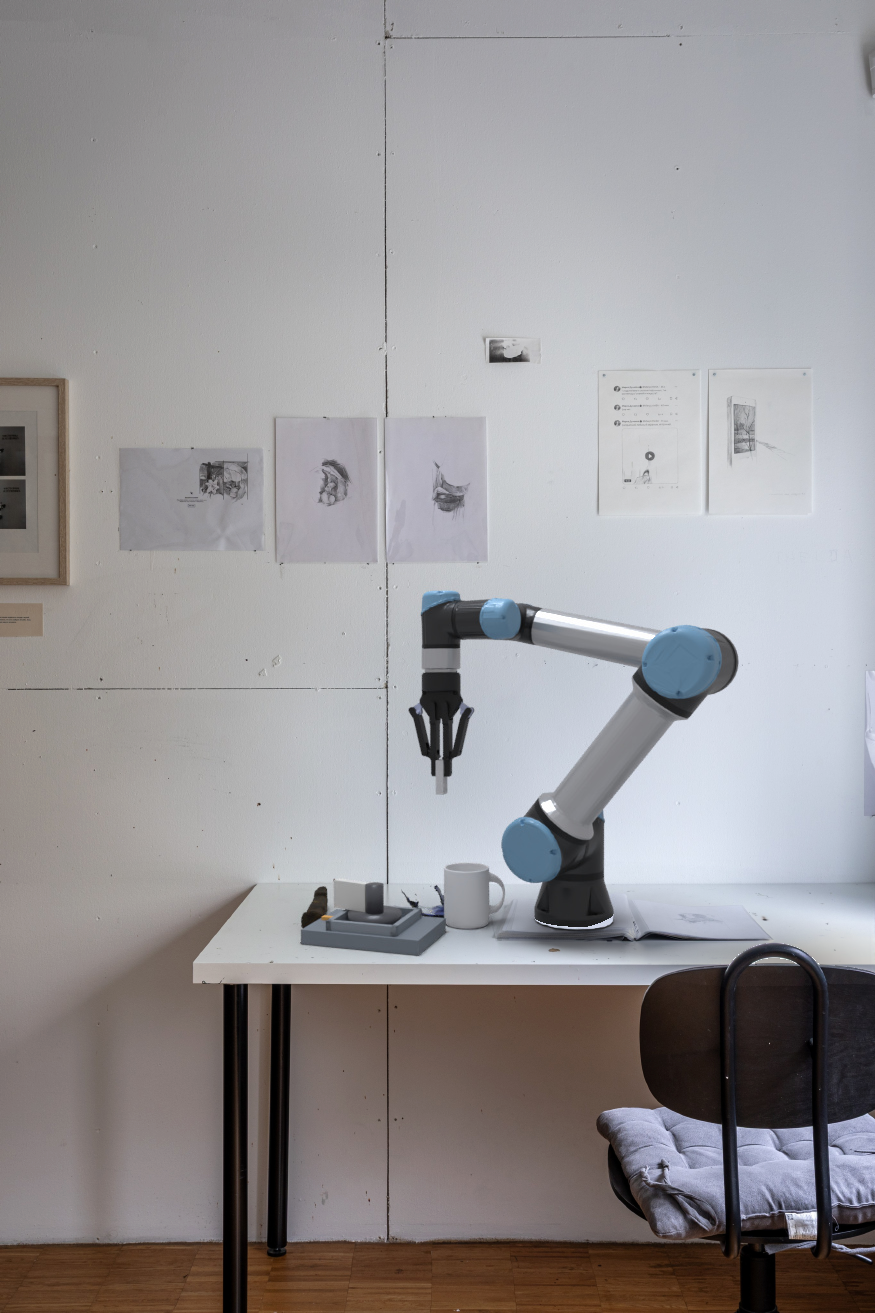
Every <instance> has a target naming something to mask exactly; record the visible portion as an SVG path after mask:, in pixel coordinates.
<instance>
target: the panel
mask: <svg viewBox="0 0 875 1313" xmlns="http://www.w3.org/2000/svg"><path fill="white" fill-rule="evenodd" d="M384 906H388V905H385V904H384ZM390 906H391V907H395V908H398V909H400V910H401V919H400V920H399V921H397V922H396V923H395V924H393V925H387V924H375V923H364V922H353V921H348V912H349V911H350V910H348V909H341V908H335V909H334V910H332V911H331V912H329V913H327V914H324V916H322V917H321V918H320V919H319V920H317V921H315V922H313V923H312V924H310V925H308V926H306V927H305V928H301V929H300V944H301V945H307V946H308V945H309V946H317V947H319V946H320V947H329V948H339V949H350V950H359V951H370V952H378V953H388V954H400V955H410V956H420V955H422V953H423V952H424V951H425V950H426V949H428V948H429V947H430V946H431V945H432V944H433V943H435V942H436V941H437V940H438V939H439V938H440V937H442V936H443V935H444V934H445V933H446V932H447V927H446V926H447V924H446V918H440V917H438V916H433V917H425V916H423V915H422V912H423V910H422V909H423V908H412V907H407V906H396V905H390Z"/></svg>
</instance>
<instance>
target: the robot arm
mask: <svg viewBox="0 0 875 1313" xmlns="http://www.w3.org/2000/svg"><path fill="white" fill-rule="evenodd" d="M420 618H421V621H420V622H421V669H422V670H424V672H422V673H421V696H420V697H419V702H418V703H417V704H414V705H413V706H410V707H409V708H408V713H409V714H410V716H411V717H412V719H413V723H414V728H415V732H416V733H415V734H416V736H417V740H418V744H419V750H420V754H421V756H423V757H426V758H429V760H430V774H431V777H435V795H441V796H442V795H446V794H448V778H450V777H452V775H453V759H454V758H458V757H460V756H461V755H462V753H463V748H464V745H465V740H466V736H467V732H468V727H469V722H470V719H471V718H472V716H473V714H474V712H475V708H474V707H473V706H472V707H471V706H469V705H468V704H466V703H464V698H463V697H462V692H461V690H462V689H461V684H462V683H461V682H462V681H461V679H462V678H461V677H462V676H461V673H460V672H458V670H460V669H461V642H462V641H465V640H470V641H471V640H474V641H475V640H486V641H487V640H491V641H493V640H494V641H509V642H510V641H511V642H517V643H523V644H527V645H531V646H538V647H542V648H546V649H550V650H556V651H560V652H563V653H568V654H569V653H570V654H572V655H573V654H574V655H577V656H583V657H587V658H591V659H597V660H601V661H605V662H609V663H613V664H619V665H623V666H628V667H633V668H637V669H636V670H635V672H634V673H633V675H632V676H631V682H632V690H631V692H630V693H629V694H628V695H627V697H626V699H624V701H623V702H622V704H621V705H620V706H619V707H618V709H617V710H616V711H615V712H614V714H613V715H612V717H611V718H610V719H609V720H608V722H606V724H605V726H604V727H603V728H602V729H601V730H600V732H599V733H598V734H597V736H596V737H595V738H594V740H592V742H591V743H590V744H589V746H588V747H587V749H586V750H585V751H584V752H583V754H582V755H581V757H580V758H579V759H578V760H577V762H576V763H575V764H574V765H573V767H572V768H571V769H570V770H569V771H568V773H567V774H566V776H565V777H564V778H563V779H562V781H561V782H560V783H559V784H558V786H557V787H556V789H555V790H554V791H552V792H551V791H549V792H544V793H543V792H542V793H541V794H540V795H539V796H538V798H537V799H536V800H535V802H534V803H533V804H532V805H531V806H530V808H529V809H528V810H527V812H526V813H525V814H524V816H520V817H517V818H515V819H514V820H513V821H512V822H510V823H509V824H508V826H506V828H505V829H504V831H503V833H502V837H501V846H500V847H501V850H502V851H501V852H502V857H503V860H504V862H505V863H504V864H505V865H506V866H507V869H509V871H510V872H512V874H513V875H515V877H517V878H518V879H519V880H522V881H524V882H526V883H530V884H539V883H541V885H540V888H539V892H538V895H537V897H536V902H535V904H534V911H533V912H534V913H533V914H534V917H535V919H536V920H538V921H540V922H543V923H546V924H551V925H557V926H568V927H588V926H592V925H595V924H598V923H601V922H603V921H605V920H607V919H609V918H611V917H612V916H613V914H614V915H615V913H614V912H615V911H614V906H613V904H612V901H611V897H610V895H609V892H608V889H607V885H606V882H605V824H606V823H605V822H606V820H605V816H604V809H605V808H606V807H607V805H608V804H609V803H610V801H611V800H613V799H614V796H615V795H616V794H617V793H618V792H619V790H620V789H621V788H622V787H623V785H624V784H625V783H626V782H627V781H628V779H629V778H630V777H631V776H632V774H633V773H634V772H635V771H636V769H637V768H638V767H639V766H640V764H641V763H642V762H643V761H644V759H645V758H646V757H647V756H649V753H650V752H651V751H652V749H653V748H654V747H655V746H656V745H657V744H658V742H659V741H660V740H661V738H662V737H663V736H664V735H665V734H666V732H667V731H668V730H669V728H670V727H671V726H672V725H673V724H674V723H675V722H677V721H687V720H689V718H691V717H692V715H693V714H694V712H696V710H697V709H698V708H699V707H700V705H702V703H703V702H704V700H706V698H707V697H708V696H709V695H710V696H711V695H716V694H717V693H720V692H721V691H723V690H725V689H726V688H727V687H729V686H730V684H731V683H732V682H733V681H734V679H735V677H736V675H737V672H738V669H739V656H738V655H739V654H738V650H737V648H736V647H735V644H734V643H733V642H732V640H731V639H730V638H729V637H728V636H726V635H725V634H724V633H722V632H720V631H718V630H715V629H711V628H706V627H699V626H696V625H691V624H681V625H680V624H678V625H674V626H672V627H669V628H666V629H663V630H660V629H654V628H650V627H643V626H639V625H634V624H629V623H623V622H617V621H612V620H607V619H603V618H598V617H593V616H586V615H581V614H576V613H570V612H566V611H561V610H555V609H551V608H544V607H543V608H542V607H539V606H535V605H533V604H528V603H523V602H522V603H520V602H519V603H518V602H515V601H514V600H513V599H510V598H497V597H494V598H493V597H492V598H487V599H485V598H484V599H474V600H462V599H461V594H460V592H459V591H456V590H429V591H426V592H424V593H423V595H422V597H421V612H420ZM423 710H424V711H423ZM458 711H459V715H461V716H460V717H459V722H458V724H457V728H456V733H455V734H456V735H455V739H453V738H454V737H453V735H454V734H453V733H454V732H453V731H454V730H453V728H454V727H453V725H454V717H455V716H456V715H457V713H458ZM424 712H425V713H426V715H427V716H428V721H429V722H428V723H429V736H428V731H427V728H426V727H427V726H426V723H425V719H424V716H423V714H424ZM441 725H442V755H441ZM453 740H454V742H453ZM535 919H534V920H535Z"/></svg>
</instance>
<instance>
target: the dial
mask: <svg viewBox="0 0 875 1313" xmlns="http://www.w3.org/2000/svg"><path fill="white" fill-rule="evenodd" d="M384 886H385V885H384V883H383V882H380V881H379V882H378V881H377V882H375V881H373V882H371V881H369V882H368V881H363V880H357V879H356V880H355V879H348V878H342V877H339V878H336V879H334V880H333V907H334V908H335V909H342V910H345V909H348V910H350V911H349V912H348V921H353V922H364V923H375V924H387V925H393V924H395V923H396V922H397V921H399V920H400V919H401V910H400V909H398V908H395V907H391V906H392V905H387V906H384V905H385V902H384V898H385V897H384V892H385V891H384V890H385V889H384Z"/></svg>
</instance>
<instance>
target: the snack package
mask: <svg viewBox="0 0 875 1313" xmlns="http://www.w3.org/2000/svg"><path fill="white" fill-rule="evenodd" d="M430 887H432V885H430ZM433 888H434V891H435V892H437V893H438V894H437V895H439V899H440V904H438V905H434V906H430V907H428V906H421V905H420V904H419V903H420V901H418V900H416V901H414V900H411V899H410V897H409V896H407V894H406V893H405V891H403V890H402V889H401V893H402V894H403V895H404V898H405V899H406V901H407V903H408V904H409V906H411V907H412V908H422V909H425V908H426V909H425V910H427V909H428V910H429V911H428V910H427V911H428V912H430V911H431V912H430V913H428V912H426V913H425V912H423V911H422V916H425V917H438V918H444V894H443V893H442V890H441V888H440V887H439V886H438V884H435V885H434V886H433ZM424 889H425V888H424V887H423V890H424ZM414 895H415V896H417V893H414ZM431 913H432V914H431Z"/></svg>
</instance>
